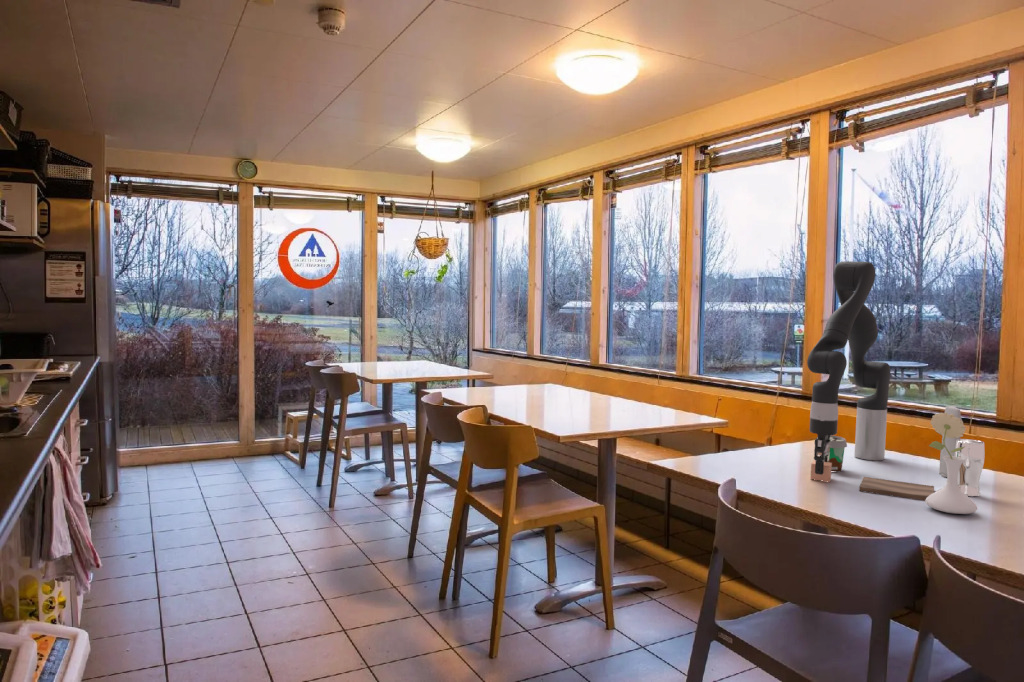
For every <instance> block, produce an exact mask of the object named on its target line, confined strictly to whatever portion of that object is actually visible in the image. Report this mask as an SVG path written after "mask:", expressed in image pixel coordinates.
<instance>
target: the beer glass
mask: <svg viewBox="0 0 1024 682" xmlns="http://www.w3.org/2000/svg"><path fill="white" fill-rule="evenodd" d="M964 446H965V447H964ZM960 447H964V448H963V449H962V450H960V451H957V452H955V457H961V458H964V459H965V461H964V462H963V463H962V464H961V466H960V468H959V472H958V487H959V489H960V490H961V491H962V492H963V493H964V494H965V495H967V496H979V497H981V491H980V479H981V476H982V473H983V468H984V464H985V455H986V454H985V442H984V441H982V440H977V439H967V438H960V439H957V441H956V447H955V449H956V448H960Z"/></svg>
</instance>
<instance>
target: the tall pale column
mask: <svg viewBox="0 0 1024 682" xmlns="http://www.w3.org/2000/svg"><path fill="white" fill-rule="evenodd" d="M944 413H948V414H949V415H950V414H953V415H954V417H956V418H960V421H963V419H962V416H961V415H962V414H961V413H962V412H961V409H960V408H957V407H956V406H954V405H949V406H947V405H946V406H945V409H944ZM941 436H942V438H941V443H942V444H943V438H944V435H941ZM957 439H961V437H958V438H955V437H954V438H949V437H945V445H946V447H947V449H948V451H949V452H950V454H951V456H955V452H951V451H952V450H954V449H955V447H956V441H957ZM943 445H944V444H943ZM939 455H940V457H939V458H940V459H939V469H938V470H939V471H938V472H939V473H938V474H939V475H940V476H941V477H943V478H946V477H947V465H946V463H945V461H944V459H943V458H942V456H950V455H949V454H948V452H947V450H946V449H945V447H944V448H943V449H942V450H940V453H939Z"/></svg>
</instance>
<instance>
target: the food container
mask: <svg viewBox="0 0 1024 682" xmlns="http://www.w3.org/2000/svg"><path fill="white" fill-rule="evenodd" d="M830 440H831V443H830V452H829V453H828V454H829V455H828V456H827V457H828V460H827V462H830V463H832V468H831V471H840V472H842V471H843V470H842V469H843V464H844V463H843V462H844V455H845V448H847V447H848V444H847V440H846V438H844V437H842V436H838V435H830ZM841 470H842V471H841Z"/></svg>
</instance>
